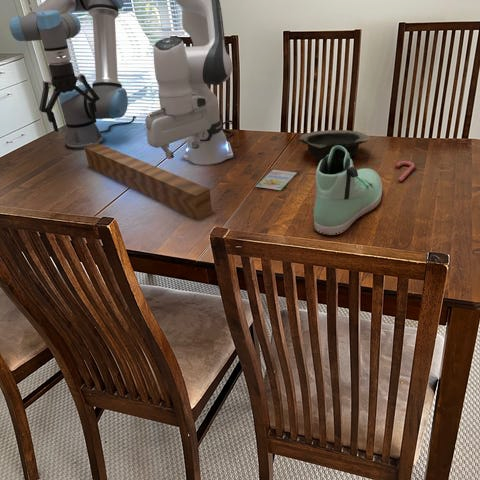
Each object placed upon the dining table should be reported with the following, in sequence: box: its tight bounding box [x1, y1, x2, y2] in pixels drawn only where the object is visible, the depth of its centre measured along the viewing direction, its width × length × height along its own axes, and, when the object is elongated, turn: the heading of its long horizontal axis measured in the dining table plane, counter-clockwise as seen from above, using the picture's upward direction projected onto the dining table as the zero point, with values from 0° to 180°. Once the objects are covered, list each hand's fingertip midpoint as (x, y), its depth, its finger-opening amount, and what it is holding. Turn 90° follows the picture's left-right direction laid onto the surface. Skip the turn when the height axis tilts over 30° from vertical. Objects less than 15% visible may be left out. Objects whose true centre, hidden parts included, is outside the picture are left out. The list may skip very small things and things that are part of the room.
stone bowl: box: [297, 129, 371, 164], centre depth 171 cm, size 25×25×9 cm
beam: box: [83, 143, 213, 221], centre depth 159 cm, size 65×6×8 cm, turn 44°
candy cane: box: [395, 160, 416, 183], centre depth 157 cm, size 6×15×2 cm, turn 145°
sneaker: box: [313, 146, 383, 236], centre depth 133 cm, size 14×35×20 cm, turn 152°
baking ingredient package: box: [255, 169, 297, 191], centre depth 159 cm, size 9×1×15 cm
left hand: (75, 126), depth 168 cm, fingers open, 13 cm apart
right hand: (183, 153), depth 136 cm, fingers open, 8 cm apart
